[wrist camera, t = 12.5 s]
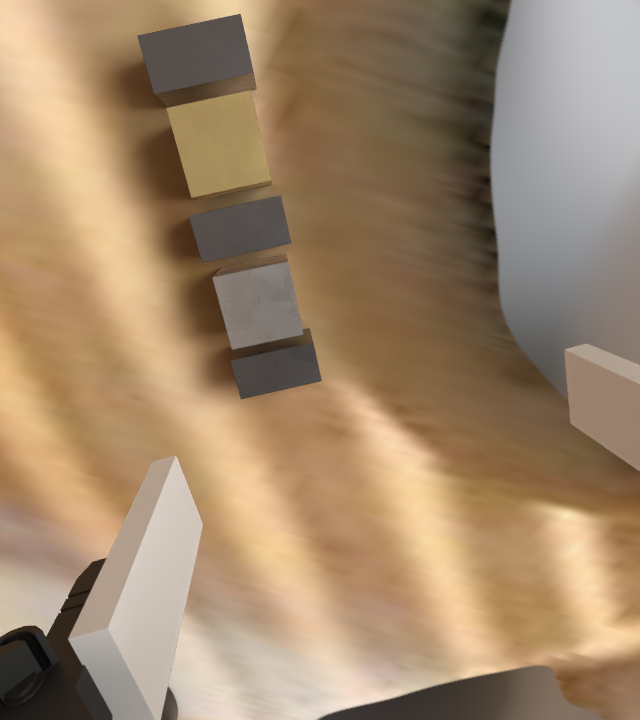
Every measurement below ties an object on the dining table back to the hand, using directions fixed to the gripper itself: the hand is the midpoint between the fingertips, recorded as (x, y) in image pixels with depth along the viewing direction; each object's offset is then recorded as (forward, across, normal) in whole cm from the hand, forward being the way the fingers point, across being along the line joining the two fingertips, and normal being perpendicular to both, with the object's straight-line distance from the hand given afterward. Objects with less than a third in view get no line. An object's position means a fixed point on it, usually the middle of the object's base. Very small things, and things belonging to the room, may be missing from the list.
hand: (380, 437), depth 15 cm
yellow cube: (+22, -3, +12) cm, 26 cm away
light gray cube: (+22, -4, +2) cm, 23 cm away
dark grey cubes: (+22, -4, +7) cm, 24 cm away
